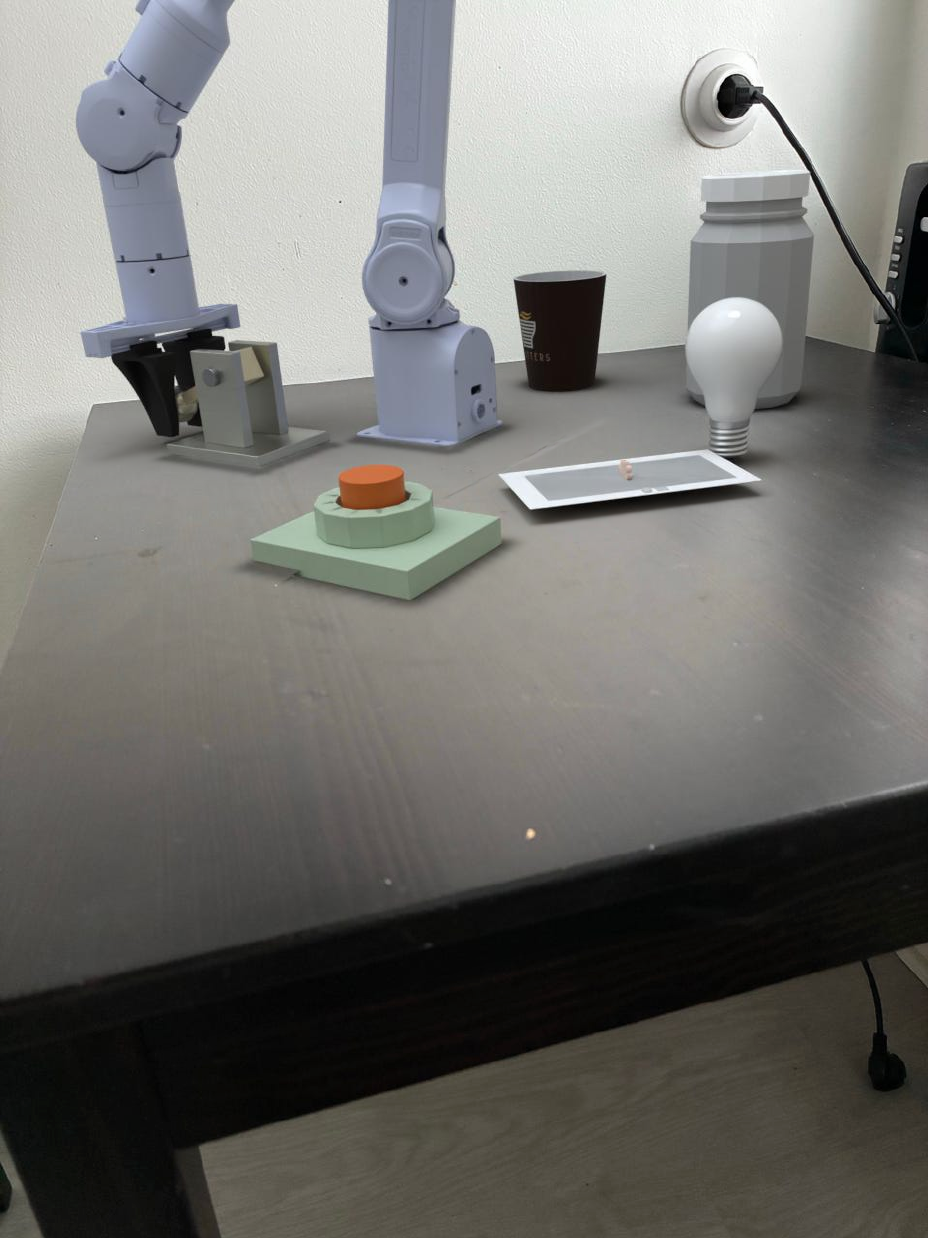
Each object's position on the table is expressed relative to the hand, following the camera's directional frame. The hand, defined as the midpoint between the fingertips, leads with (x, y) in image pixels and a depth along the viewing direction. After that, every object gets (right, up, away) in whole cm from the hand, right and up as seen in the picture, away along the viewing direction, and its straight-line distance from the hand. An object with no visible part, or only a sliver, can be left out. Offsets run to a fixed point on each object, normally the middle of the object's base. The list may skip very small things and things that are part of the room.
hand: (184, 430), depth 83 cm
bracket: (+6, -2, -3) cm, 7 cm away
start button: (+18, -9, -28) cm, 34 cm away
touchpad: (+34, -8, -18) cm, 39 cm away
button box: (+19, -12, -26) cm, 34 cm away
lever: (+3, +1, -3) cm, 5 cm away
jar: (+48, +3, +4) cm, 48 cm away
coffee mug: (+33, +8, +15) cm, 37 cm away
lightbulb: (+42, -5, -13) cm, 44 cm away
